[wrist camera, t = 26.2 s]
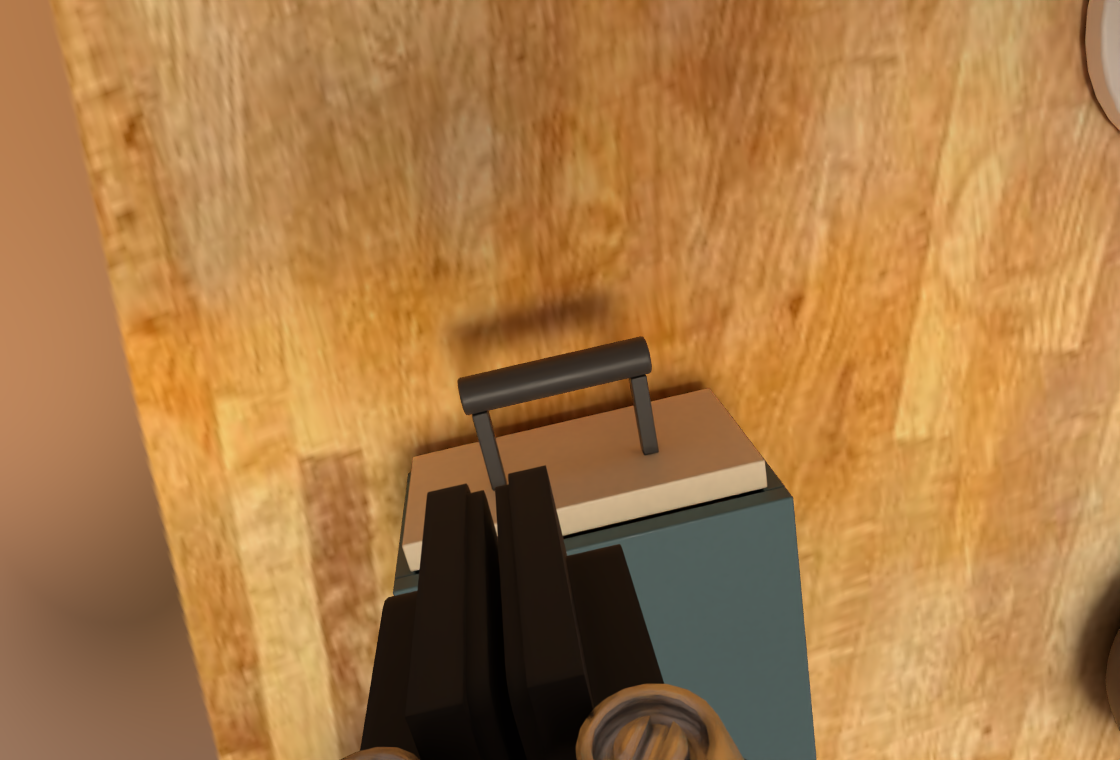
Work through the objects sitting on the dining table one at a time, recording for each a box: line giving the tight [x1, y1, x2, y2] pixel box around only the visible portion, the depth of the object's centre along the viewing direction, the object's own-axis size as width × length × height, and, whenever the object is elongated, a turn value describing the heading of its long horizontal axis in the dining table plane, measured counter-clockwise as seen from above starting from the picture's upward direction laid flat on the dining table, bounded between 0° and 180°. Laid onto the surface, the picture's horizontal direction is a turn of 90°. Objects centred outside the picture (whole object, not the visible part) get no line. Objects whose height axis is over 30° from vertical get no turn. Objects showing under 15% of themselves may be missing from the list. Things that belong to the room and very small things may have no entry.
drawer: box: [402, 336, 767, 572], centre depth 33 cm, size 20×13×7 cm, turn 11°
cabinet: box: [393, 402, 816, 760], centre depth 34 cm, size 17×15×9 cm
